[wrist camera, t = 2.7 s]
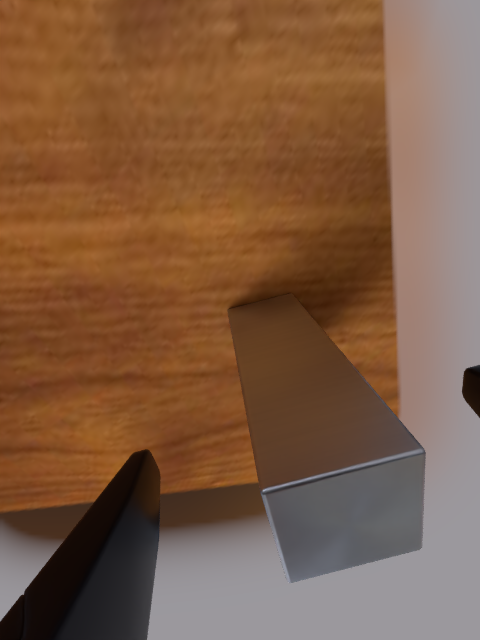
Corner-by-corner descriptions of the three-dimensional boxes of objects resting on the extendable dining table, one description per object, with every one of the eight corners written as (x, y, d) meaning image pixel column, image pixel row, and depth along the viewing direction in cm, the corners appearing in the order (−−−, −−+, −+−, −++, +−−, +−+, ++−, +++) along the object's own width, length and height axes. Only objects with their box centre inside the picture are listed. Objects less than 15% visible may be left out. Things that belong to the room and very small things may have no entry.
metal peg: (292, 292, 13) (428, 450, 5) (301, 349, 15) (424, 551, 6) (226, 308, 13) (260, 493, 5) (241, 364, 15) (287, 585, 6)
